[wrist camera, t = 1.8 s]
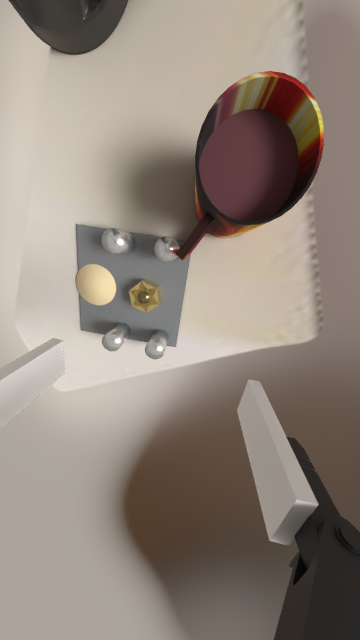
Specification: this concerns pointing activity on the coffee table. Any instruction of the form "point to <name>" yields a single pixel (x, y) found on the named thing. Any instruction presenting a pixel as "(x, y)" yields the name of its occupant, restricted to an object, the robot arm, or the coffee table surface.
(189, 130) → the coffee table surface
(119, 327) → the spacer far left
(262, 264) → the coffee table surface
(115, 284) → the mat
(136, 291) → the nut
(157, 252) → the spacer near right
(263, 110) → the mug
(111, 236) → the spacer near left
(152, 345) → the spacer far right
